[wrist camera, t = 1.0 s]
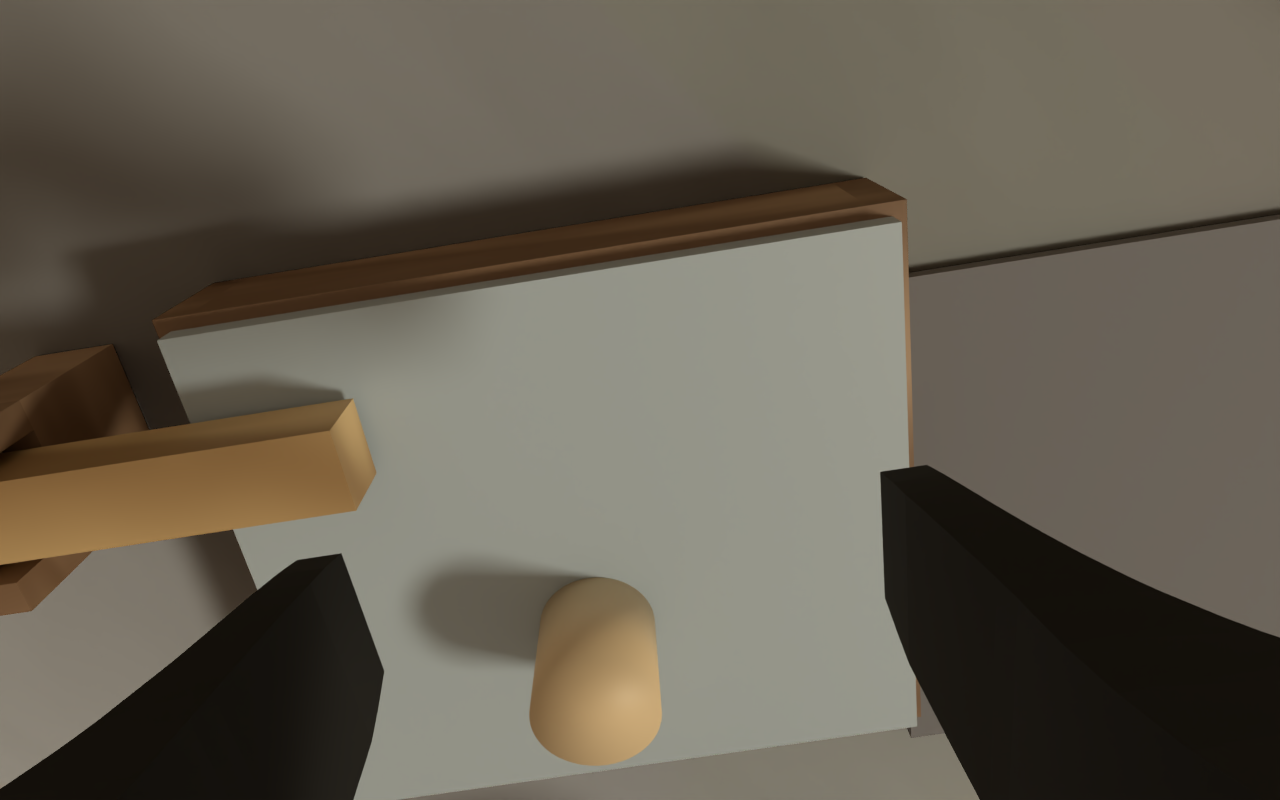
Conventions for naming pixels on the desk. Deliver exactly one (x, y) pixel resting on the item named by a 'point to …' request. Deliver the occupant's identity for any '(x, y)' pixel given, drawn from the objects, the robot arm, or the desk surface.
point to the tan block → (183, 481)
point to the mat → (1118, 405)
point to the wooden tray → (106, 406)
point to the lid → (604, 502)
